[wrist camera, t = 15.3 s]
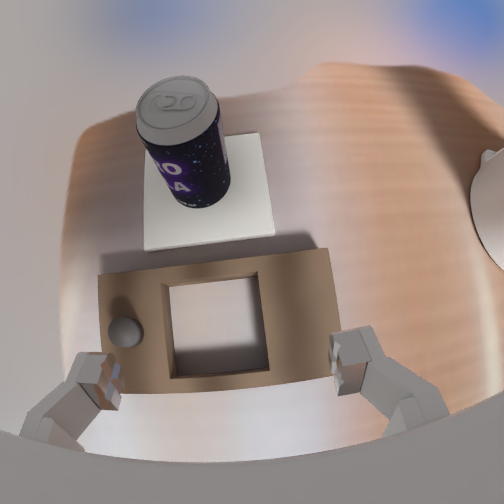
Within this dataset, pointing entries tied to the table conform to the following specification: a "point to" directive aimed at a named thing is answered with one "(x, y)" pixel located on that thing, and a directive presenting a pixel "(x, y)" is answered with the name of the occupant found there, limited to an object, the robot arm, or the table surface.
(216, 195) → the beverage can
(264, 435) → the table surface
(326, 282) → the base
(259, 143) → the pad
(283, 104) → the table surface
